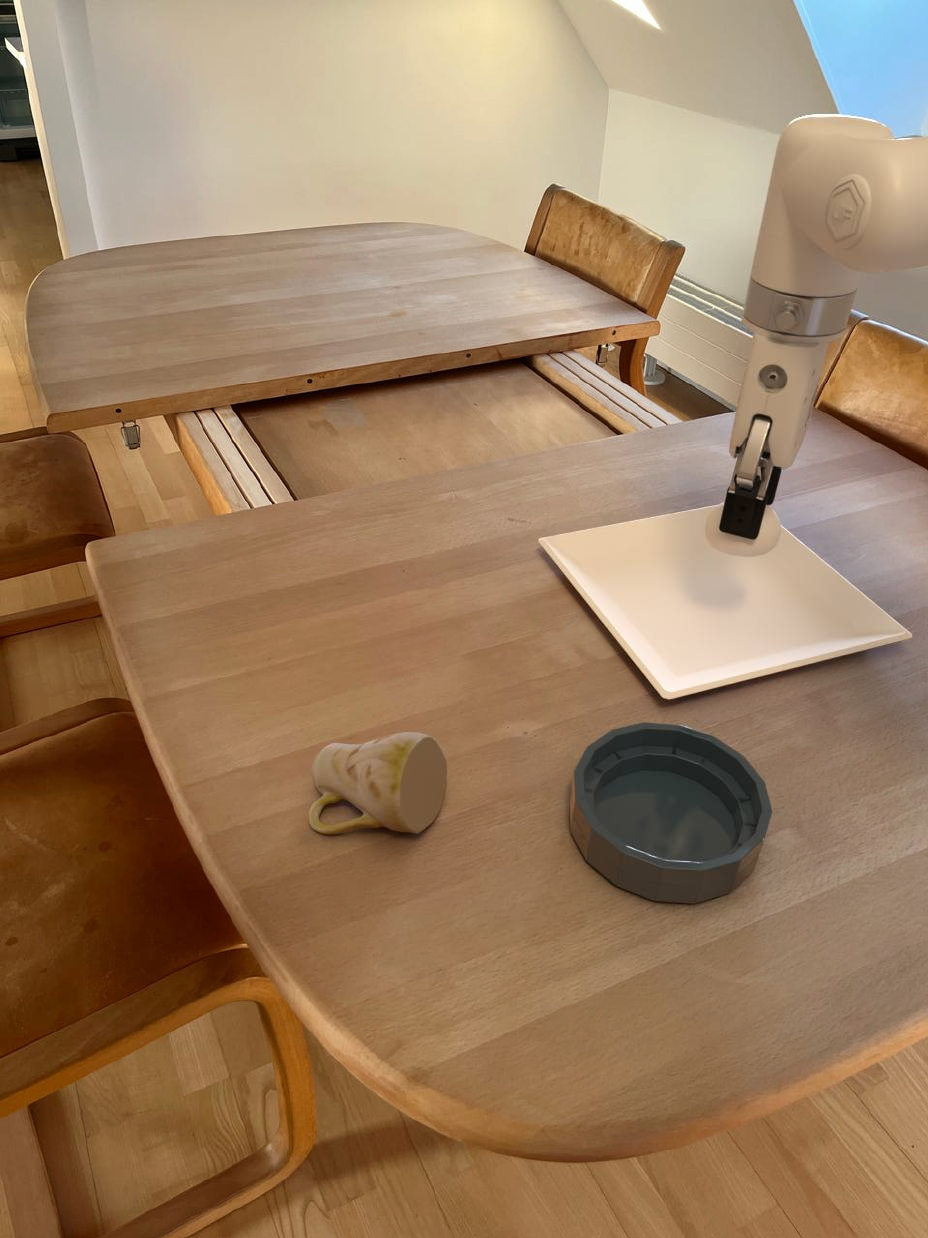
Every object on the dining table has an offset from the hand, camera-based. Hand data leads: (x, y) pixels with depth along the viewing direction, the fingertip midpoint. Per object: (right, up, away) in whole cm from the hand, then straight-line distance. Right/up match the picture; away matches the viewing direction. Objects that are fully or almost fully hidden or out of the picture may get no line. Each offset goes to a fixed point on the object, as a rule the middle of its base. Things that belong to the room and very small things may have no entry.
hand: (746, 515), depth 80 cm
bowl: (-9, -24, -11) cm, 28 cm away
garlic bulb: (0, -3, +2) cm, 3 cm away
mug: (-31, -23, -10) cm, 40 cm away
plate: (0, -7, +12) cm, 14 cm away
